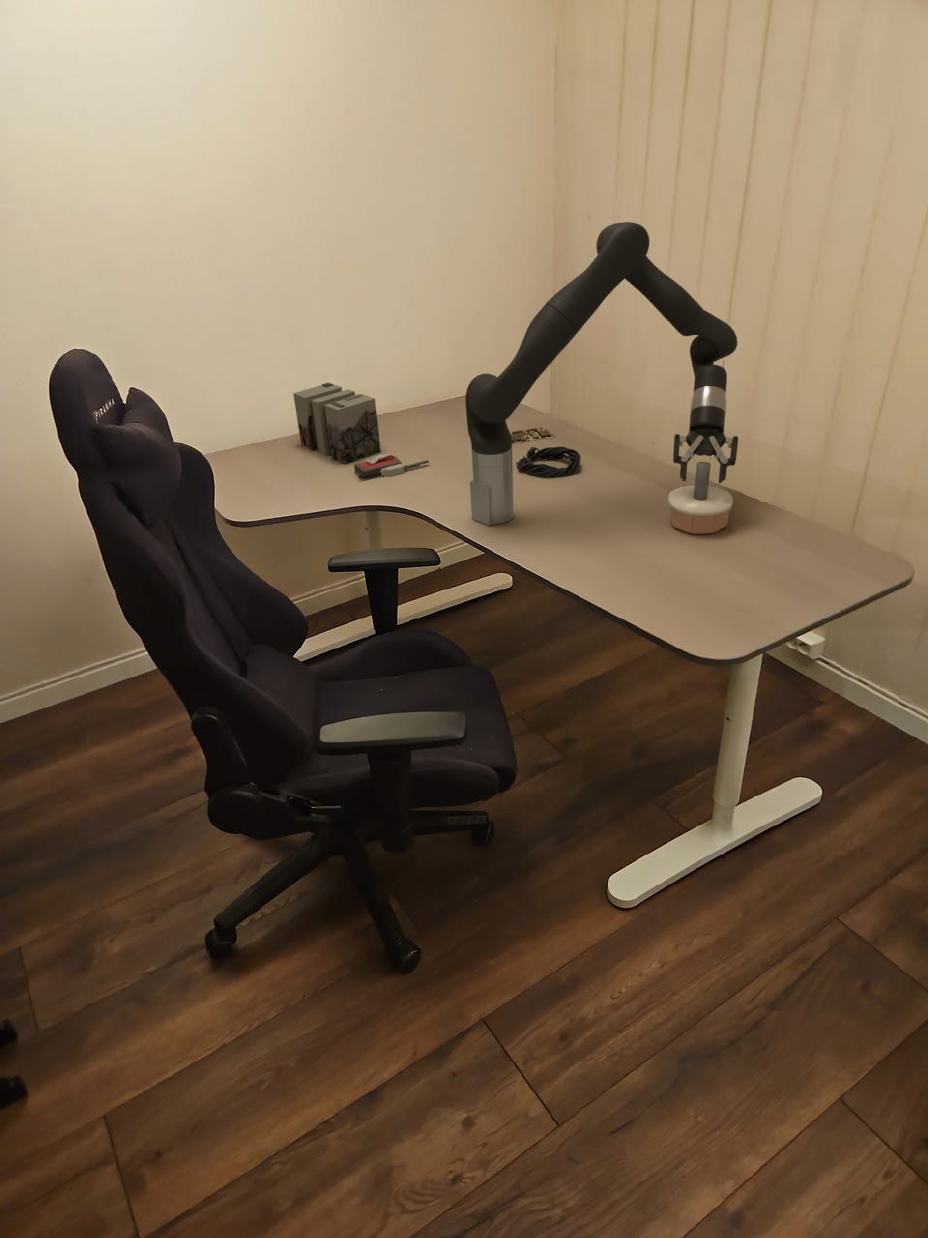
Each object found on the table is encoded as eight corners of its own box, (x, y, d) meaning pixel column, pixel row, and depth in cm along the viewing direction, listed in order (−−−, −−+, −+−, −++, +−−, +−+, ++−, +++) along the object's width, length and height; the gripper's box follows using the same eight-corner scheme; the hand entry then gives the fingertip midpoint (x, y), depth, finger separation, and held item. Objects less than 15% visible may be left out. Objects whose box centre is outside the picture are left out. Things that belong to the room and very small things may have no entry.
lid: (707, 522, 190) (711, 482, 185) (655, 503, 199) (657, 465, 195) (744, 501, 198) (749, 463, 193) (693, 484, 207) (696, 447, 202)
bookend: (337, 432, 265) (330, 378, 257) (387, 452, 249) (382, 396, 241) (292, 446, 257) (283, 392, 248) (341, 468, 241) (334, 411, 232)
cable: (591, 467, 233) (591, 451, 231) (561, 485, 224) (561, 469, 222) (537, 454, 243) (537, 439, 240) (507, 471, 234) (506, 455, 231)
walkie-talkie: (363, 485, 231) (430, 467, 239) (361, 469, 228) (429, 452, 236) (350, 474, 237) (416, 457, 245) (348, 459, 235) (414, 442, 243)
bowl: (704, 540, 194) (706, 519, 191) (660, 523, 202) (661, 503, 199) (736, 522, 200) (738, 502, 198) (692, 507, 208) (694, 487, 206)
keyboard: (483, 450, 248) (483, 443, 247) (475, 440, 255) (474, 433, 254) (557, 439, 252) (557, 432, 251) (546, 429, 259) (546, 423, 258)
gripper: (675, 403, 195) (669, 473, 192) (743, 405, 192) (737, 476, 189) (674, 418, 203) (668, 485, 199) (739, 420, 199) (734, 489, 196)
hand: (702, 480), depth 194 cm, fingers open, 7 cm apart
